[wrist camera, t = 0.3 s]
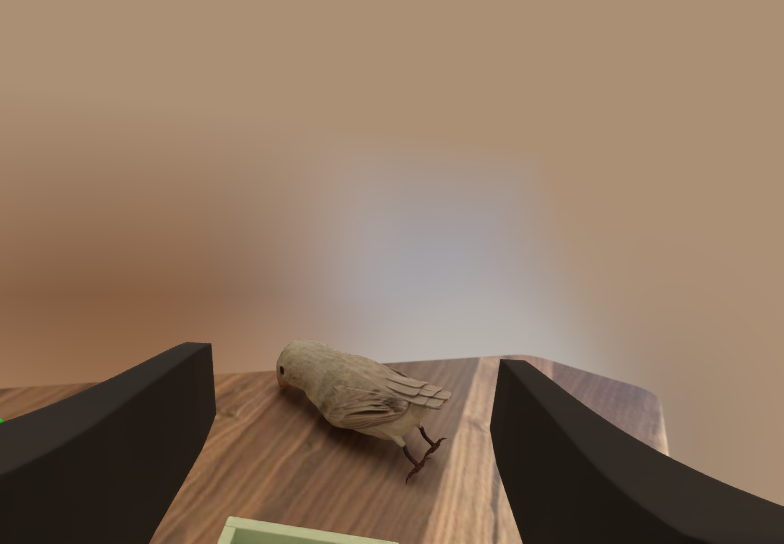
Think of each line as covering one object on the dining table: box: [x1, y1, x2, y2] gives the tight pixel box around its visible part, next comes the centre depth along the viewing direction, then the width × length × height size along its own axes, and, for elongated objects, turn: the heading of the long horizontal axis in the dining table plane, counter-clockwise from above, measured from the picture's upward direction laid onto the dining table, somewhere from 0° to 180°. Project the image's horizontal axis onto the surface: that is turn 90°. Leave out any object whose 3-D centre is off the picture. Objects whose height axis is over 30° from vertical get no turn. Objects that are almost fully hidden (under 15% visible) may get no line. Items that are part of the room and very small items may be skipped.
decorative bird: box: [277, 339, 452, 483], centre depth 39 cm, size 5×16×8 cm, turn 59°
